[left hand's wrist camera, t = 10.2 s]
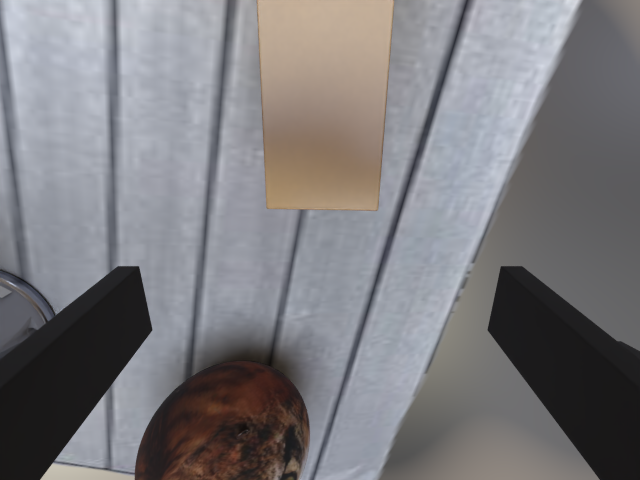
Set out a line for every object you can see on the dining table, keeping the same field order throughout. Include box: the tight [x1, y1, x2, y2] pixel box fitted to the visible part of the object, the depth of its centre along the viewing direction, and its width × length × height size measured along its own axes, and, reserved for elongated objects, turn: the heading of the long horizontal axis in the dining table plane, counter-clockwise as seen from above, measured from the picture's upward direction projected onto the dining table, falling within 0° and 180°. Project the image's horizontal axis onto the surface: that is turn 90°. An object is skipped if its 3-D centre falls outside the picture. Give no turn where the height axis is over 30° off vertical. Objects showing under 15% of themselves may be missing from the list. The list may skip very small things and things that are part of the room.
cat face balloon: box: [135, 361, 310, 480], centre depth 41 cm, size 22×18×20 cm
